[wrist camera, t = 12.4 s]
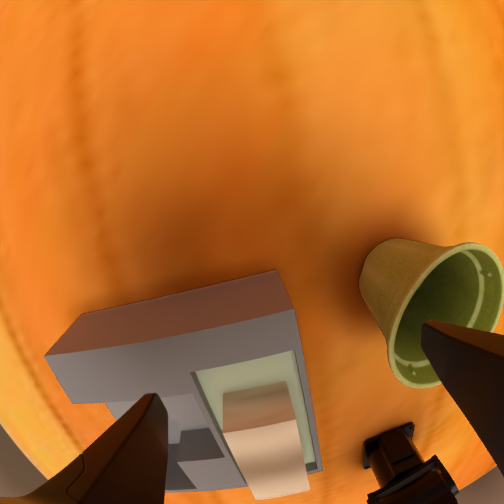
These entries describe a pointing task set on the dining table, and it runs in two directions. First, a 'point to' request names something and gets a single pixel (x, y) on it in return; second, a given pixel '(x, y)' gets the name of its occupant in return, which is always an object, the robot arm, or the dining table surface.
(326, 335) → the dining table surface
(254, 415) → the maple block
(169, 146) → the dining table surface
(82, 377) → the jig board
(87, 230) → the dining table surface
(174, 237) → the dining table surface
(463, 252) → the plant pot
